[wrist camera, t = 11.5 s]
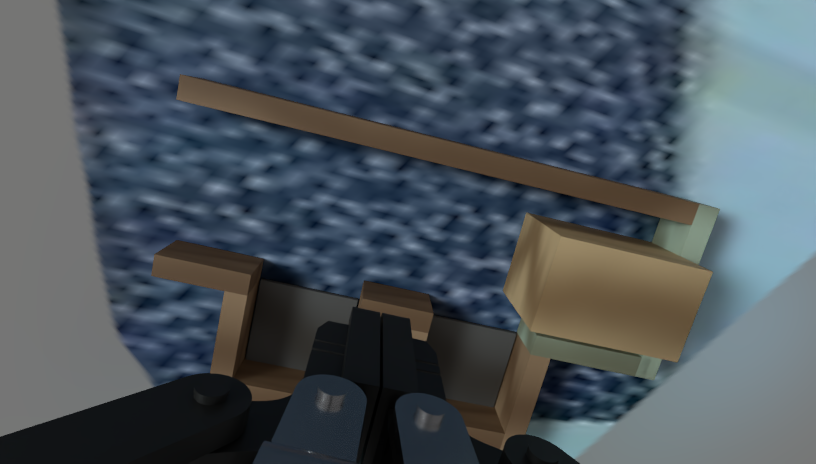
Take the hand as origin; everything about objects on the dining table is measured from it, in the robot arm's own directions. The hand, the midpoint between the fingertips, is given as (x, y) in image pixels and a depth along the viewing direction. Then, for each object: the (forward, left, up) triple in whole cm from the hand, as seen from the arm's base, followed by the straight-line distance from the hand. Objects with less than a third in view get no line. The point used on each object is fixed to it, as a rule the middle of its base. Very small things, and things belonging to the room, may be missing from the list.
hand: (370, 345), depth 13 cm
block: (0, +13, -17) cm, 21 cm away
